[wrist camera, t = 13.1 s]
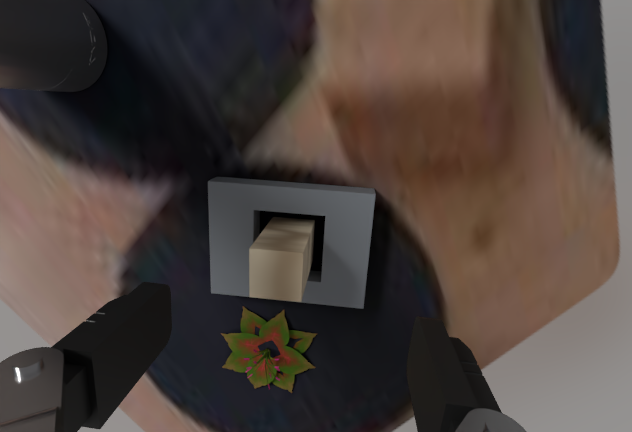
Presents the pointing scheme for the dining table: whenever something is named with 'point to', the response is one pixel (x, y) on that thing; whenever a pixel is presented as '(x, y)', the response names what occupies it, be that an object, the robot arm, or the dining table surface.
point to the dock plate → (300, 198)
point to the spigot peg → (281, 259)
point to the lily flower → (267, 351)
